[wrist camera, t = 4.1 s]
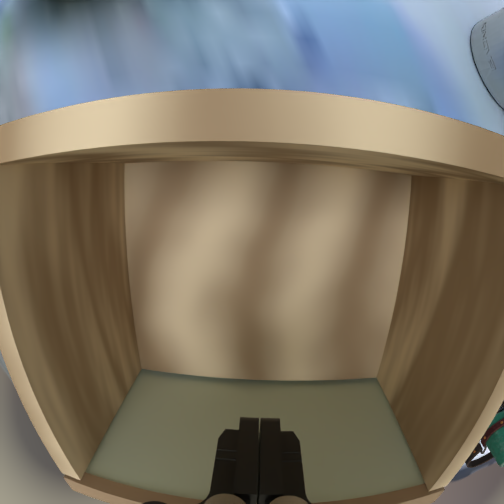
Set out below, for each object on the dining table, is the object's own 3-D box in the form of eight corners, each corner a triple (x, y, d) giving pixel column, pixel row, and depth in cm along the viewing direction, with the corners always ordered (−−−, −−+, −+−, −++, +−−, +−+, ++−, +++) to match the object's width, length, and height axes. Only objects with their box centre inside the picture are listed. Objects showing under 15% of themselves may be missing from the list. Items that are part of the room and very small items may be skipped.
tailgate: (386, 374, 21) (444, 489, 10) (382, 387, 21) (434, 502, 10) (131, 364, 22) (63, 477, 10) (134, 378, 22) (72, 490, 10)
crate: (420, 159, 17) (563, 162, 6) (386, 369, 21) (446, 485, 10) (115, 146, 18) (-29, 135, 6) (131, 359, 22) (62, 473, 10)
